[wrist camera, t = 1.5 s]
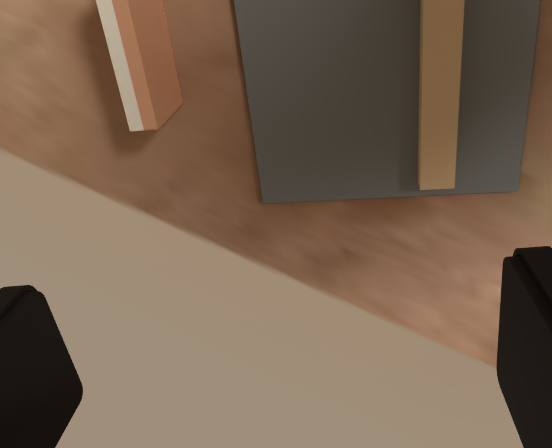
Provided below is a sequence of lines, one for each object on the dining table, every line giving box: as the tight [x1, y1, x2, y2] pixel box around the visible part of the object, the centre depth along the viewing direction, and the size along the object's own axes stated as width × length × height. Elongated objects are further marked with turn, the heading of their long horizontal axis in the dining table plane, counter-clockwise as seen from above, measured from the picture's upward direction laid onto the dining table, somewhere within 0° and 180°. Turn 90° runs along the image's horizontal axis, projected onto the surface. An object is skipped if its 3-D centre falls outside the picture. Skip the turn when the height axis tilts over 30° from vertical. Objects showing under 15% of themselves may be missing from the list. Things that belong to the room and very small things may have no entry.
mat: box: [234, 0, 541, 204], centre depth 28 cm, size 18×16×2 cm
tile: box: [96, 0, 183, 131], centre depth 28 cm, size 8×2×5 cm, turn 7°
